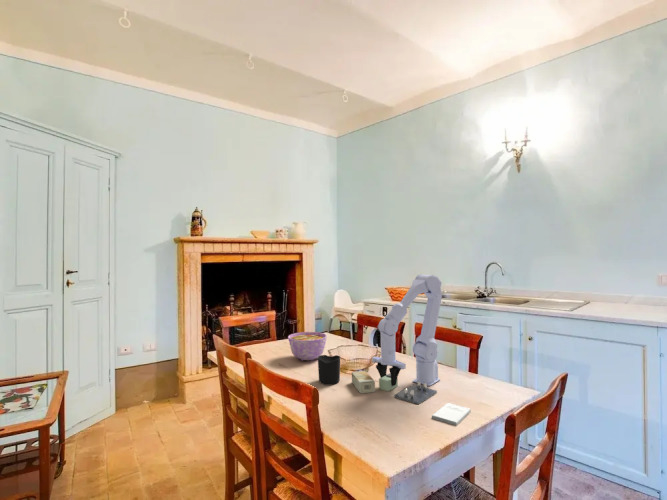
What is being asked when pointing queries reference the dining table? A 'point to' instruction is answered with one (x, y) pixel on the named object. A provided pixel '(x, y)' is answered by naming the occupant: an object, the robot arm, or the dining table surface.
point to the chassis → (416, 393)
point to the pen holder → (329, 369)
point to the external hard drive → (451, 413)
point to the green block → (386, 383)
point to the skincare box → (363, 382)
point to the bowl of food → (307, 344)
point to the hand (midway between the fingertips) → (388, 383)
